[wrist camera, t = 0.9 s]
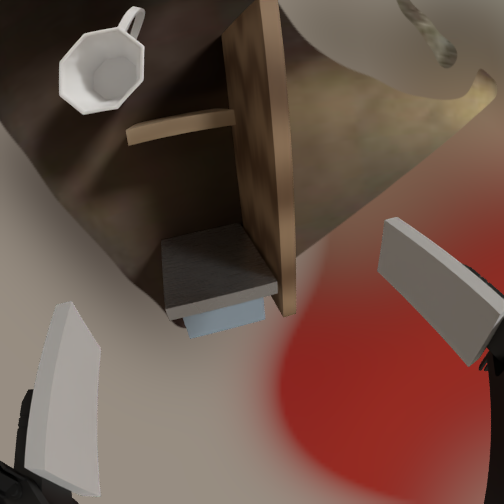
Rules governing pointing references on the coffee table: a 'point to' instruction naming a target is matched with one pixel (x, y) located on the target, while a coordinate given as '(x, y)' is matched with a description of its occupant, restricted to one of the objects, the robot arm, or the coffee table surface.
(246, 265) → the bookend
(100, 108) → the cup
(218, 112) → the divider
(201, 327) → the shelved book
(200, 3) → the coffee table surface
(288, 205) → the shelf wall
